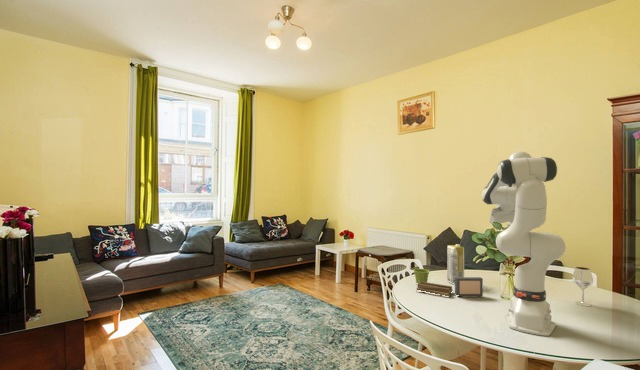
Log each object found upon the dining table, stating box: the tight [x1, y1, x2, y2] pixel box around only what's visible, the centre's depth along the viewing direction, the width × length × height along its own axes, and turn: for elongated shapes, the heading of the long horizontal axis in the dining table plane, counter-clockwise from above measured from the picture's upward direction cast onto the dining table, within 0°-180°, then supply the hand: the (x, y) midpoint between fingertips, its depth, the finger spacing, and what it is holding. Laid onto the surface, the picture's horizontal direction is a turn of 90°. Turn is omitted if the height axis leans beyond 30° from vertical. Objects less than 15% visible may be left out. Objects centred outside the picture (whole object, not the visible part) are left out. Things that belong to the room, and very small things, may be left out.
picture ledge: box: [416, 281, 453, 297], centre depth 181 cm, size 10×17×4 cm, turn 56°
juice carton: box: [446, 243, 465, 285], centre depth 200 cm, size 9×8×24 cm
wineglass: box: [572, 266, 594, 307], centre depth 164 cm, size 8×8×18 cm
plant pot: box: [413, 268, 430, 284], centre depth 196 cm, size 9×9×9 cm
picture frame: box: [454, 276, 484, 296], centre depth 175 cm, size 2×14×10 cm, turn 91°
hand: (503, 229), depth 188 cm, fingers open, 8 cm apart
